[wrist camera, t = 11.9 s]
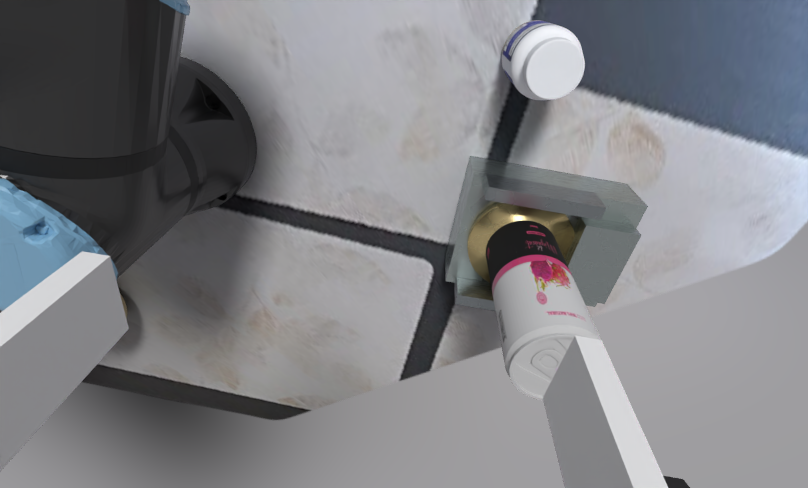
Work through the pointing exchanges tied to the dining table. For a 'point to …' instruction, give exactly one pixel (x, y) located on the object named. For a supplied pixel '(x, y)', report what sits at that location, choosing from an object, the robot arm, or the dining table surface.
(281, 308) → the dining table surface
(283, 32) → the dining table surface
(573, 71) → the pill bottle
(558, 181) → the brass dish housing
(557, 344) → the beverage can
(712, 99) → the dining table surface
